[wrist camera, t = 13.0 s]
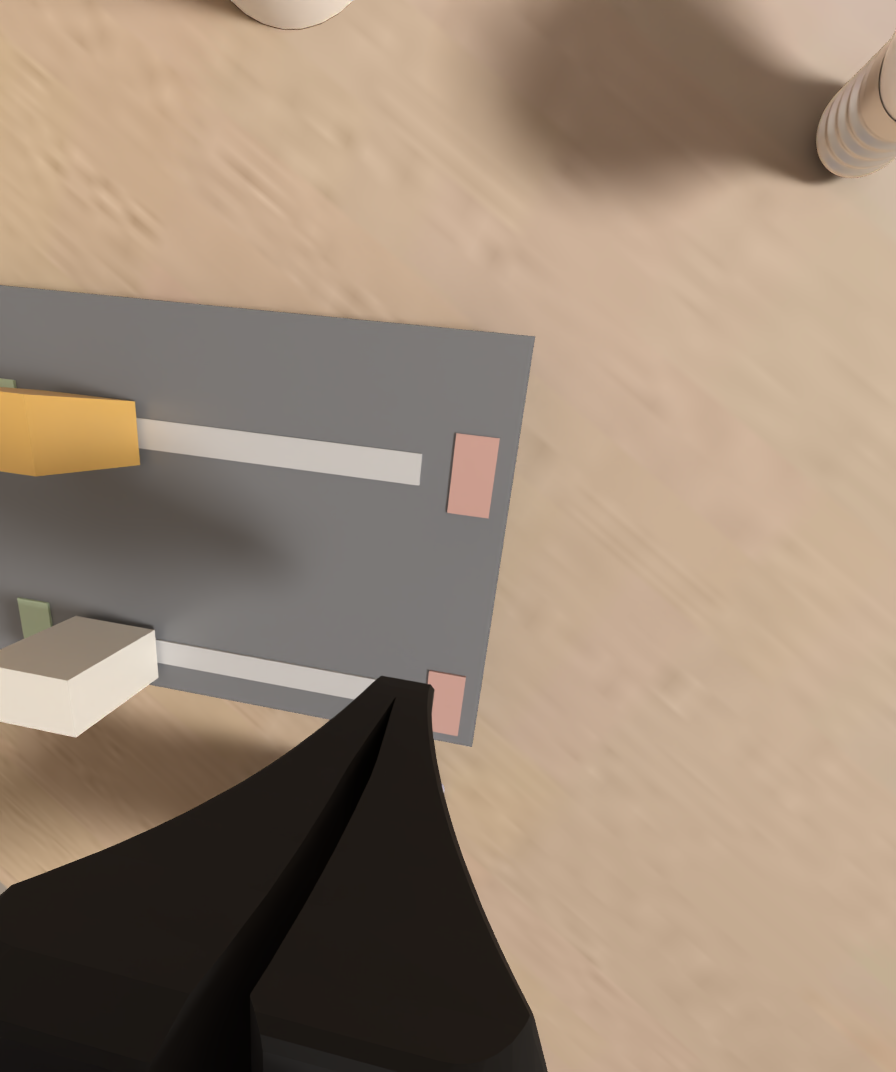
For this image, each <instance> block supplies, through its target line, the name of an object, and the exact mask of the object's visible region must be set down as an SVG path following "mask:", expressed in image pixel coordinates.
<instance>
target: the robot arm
mask: <svg viewBox="0 0 896 1072" xmlns="http://www.w3.org/2000/svg"><path fill="white" fill-rule="evenodd" d="M434 691H435V689H434V688H433V687H432V685H431V684H426V683H420V682H415V681H409V680H404V679H398V678H393V677H387V676H380V677H379V678H377V679H376V680H375V681H374V682H373V683H372V684H371V685H370V686H368V687H367V688H366V689H365V690H364V691H363V692H362V693H361V694H360V695H359V696H358V697H356V698H355V699H354V700H353V701H352V702H351V703H350V704H349V705H347V706H346V707H345V708H344V709H343V710H342V711H340V712H339V713H338V714H337V715H336V716H334V717H333V718H332V719H331V720H330V721H328V722H327V723H326V724H325V725H324V726H322V727H321V728H320V729H318V730H317V731H316V732H315V733H313V734H312V735H311V736H309V737H308V738H307V739H305V740H304V741H302V742H301V743H300V744H298V745H297V746H296V747H294V748H293V749H292V750H290V751H289V752H288V753H286V754H285V755H283V756H282V757H280V758H279V759H277V760H276V761H275V762H273V763H271V764H270V765H268V766H267V767H265V768H264V769H262V770H261V771H259V772H257V773H256V774H254V775H253V776H251V777H250V778H248V779H246V780H245V781H243V782H241V783H240V784H238V785H236V786H234V787H232V788H231V789H229V790H227V791H225V792H223V793H221V794H220V795H218V796H216V797H214V798H212V799H210V800H208V801H207V802H205V803H203V804H201V805H199V806H197V807H195V808H194V809H192V810H190V811H188V812H186V813H184V814H182V815H180V816H178V817H176V818H173V819H171V820H169V821H167V822H165V823H163V824H161V825H159V826H157V827H155V828H152V829H150V830H148V831H146V832H143V833H141V834H139V835H137V836H135V837H132V838H130V839H128V840H126V841H123V842H121V843H119V844H116V845H114V846H112V847H109V848H107V849H104V850H102V851H100V852H97V853H95V854H92V855H89V856H87V857H84V858H82V859H79V860H77V861H74V862H71V863H69V864H66V865H64V866H61V867H59V868H56V869H53V870H51V871H48V872H46V873H43V874H41V875H38V876H35V877H33V878H30V879H27V880H24V881H22V882H19V883H16V884H13V885H11V886H10V887H9V888H8V889H7V890H6V891H5V892H3V893H2V894H1V895H0V1072H548V1071H547V1067H546V1063H545V1059H544V1055H543V1051H542V1047H541V1043H540V1039H539V1035H538V1031H537V1027H536V1023H535V1019H534V1016H533V1013H532V1011H531V1009H530V1007H529V1005H528V1003H527V1001H526V999H525V997H524V995H523V993H522V991H521V989H520V987H519V985H518V983H517V981H516V979H515V977H514V975H513V973H512V971H511V969H510V967H509V965H508V963H507V961H506V959H505V956H504V954H503V952H502V950H501V948H500V946H499V944H498V942H497V939H496V937H495V935H494V932H493V930H492V928H491V926H490V923H489V921H488V919H487V917H486V914H485V912H484V910H483V908H482V905H481V903H480V900H479V897H478V895H477V892H476V890H475V887H474V884H473V882H472V879H471V877H470V874H469V871H468V869H467V866H466V864H465V861H464V859H463V856H462V853H461V850H460V847H459V844H458V841H457V838H456V835H455V832H454V829H453V825H452V822H451V818H450V815H449V812H448V808H447V804H446V800H445V797H444V786H443V784H442V783H441V779H440V774H439V770H438V765H437V759H436V753H435V745H434V738H433V729H432V707H433V699H434Z"/></svg>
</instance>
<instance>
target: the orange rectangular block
mask: <svg viewBox="0 0 896 1072" xmlns="http://www.w3.org/2000/svg"><path fill="white" fill-rule="evenodd" d="M136 465H140V457H139V445H138V432H137V420H136V408H135V401H128V400H120V399H111V398H103V397H95V396H87V395H79V394H70V393H62V392H54V391H46V390H33V389H20V388H7V387H0V471H1V472H8V473H15V474H22V475H29V476H45V475H54V474H64V473H73V472H82V471H91V470H100V469H109V468H118V467H127V466H136Z"/></svg>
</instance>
